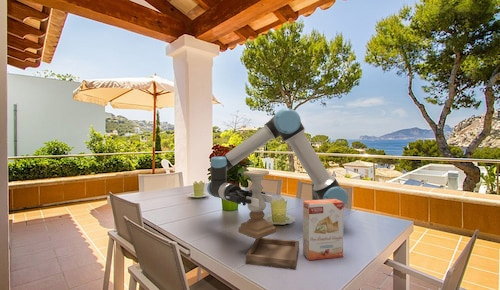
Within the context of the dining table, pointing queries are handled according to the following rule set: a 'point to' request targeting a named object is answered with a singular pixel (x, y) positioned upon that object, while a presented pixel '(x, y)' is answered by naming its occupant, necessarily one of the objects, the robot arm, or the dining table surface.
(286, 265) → the tray
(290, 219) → the dining table surface
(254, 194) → the candle holder
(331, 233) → the cracker box
